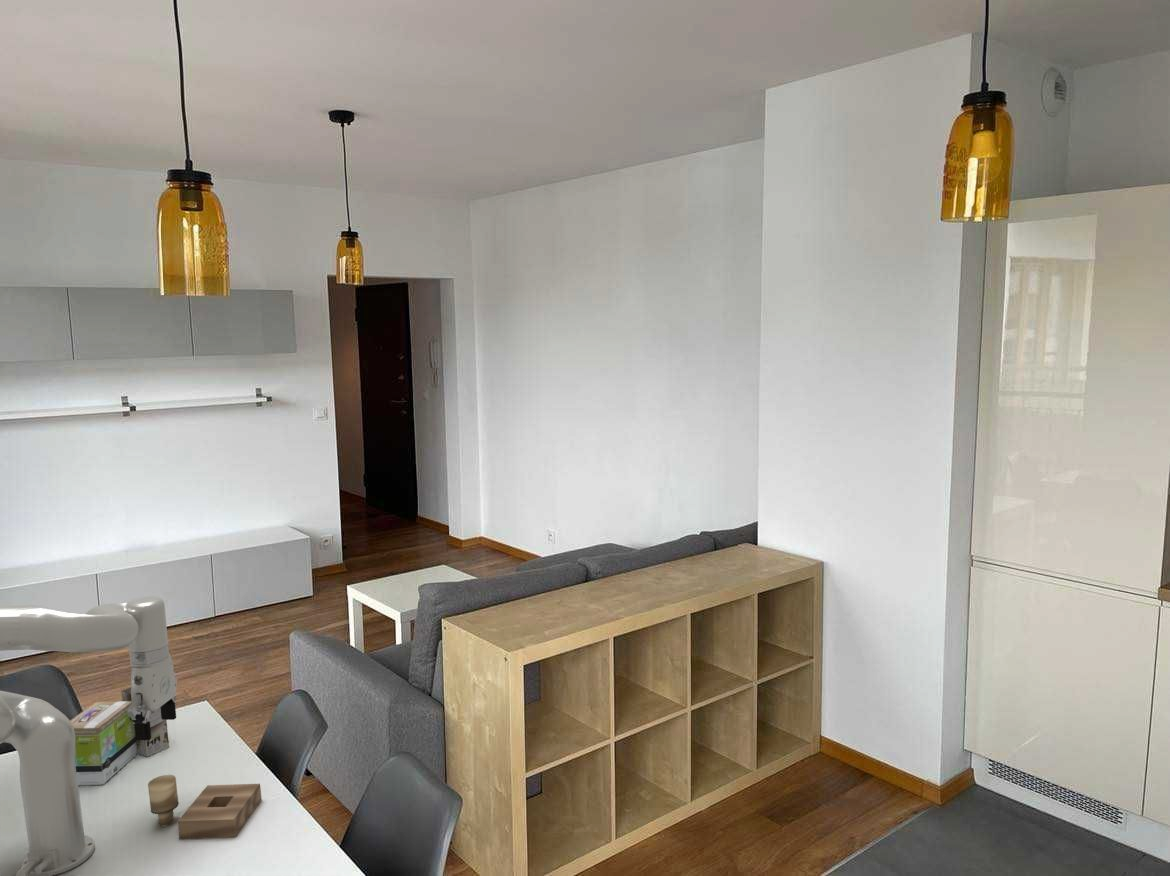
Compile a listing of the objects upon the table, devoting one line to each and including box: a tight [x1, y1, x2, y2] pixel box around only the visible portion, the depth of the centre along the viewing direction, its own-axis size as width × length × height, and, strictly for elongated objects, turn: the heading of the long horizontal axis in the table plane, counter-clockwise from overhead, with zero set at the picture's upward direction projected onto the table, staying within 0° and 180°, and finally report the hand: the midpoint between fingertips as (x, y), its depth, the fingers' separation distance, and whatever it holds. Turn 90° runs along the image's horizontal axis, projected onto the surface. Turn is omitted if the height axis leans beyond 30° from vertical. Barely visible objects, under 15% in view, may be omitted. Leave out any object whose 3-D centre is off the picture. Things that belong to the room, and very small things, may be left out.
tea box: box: [69, 701, 138, 787], centre depth 207 cm, size 15×10×15 cm, turn 179°
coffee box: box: [121, 686, 170, 758], centre depth 217 cm, size 9×6×16 cm
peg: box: [147, 774, 180, 827], centre depth 183 cm, size 5×5×10 cm
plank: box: [176, 783, 263, 840], centre depth 184 cm, size 14×12×4 cm
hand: (156, 729), depth 185 cm, fingers open, 9 cm apart
